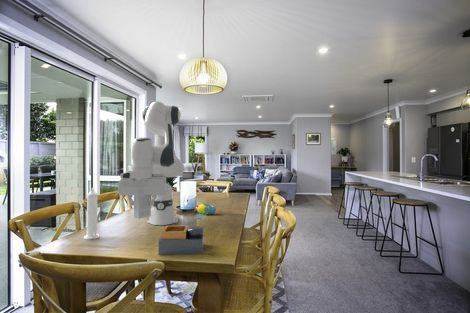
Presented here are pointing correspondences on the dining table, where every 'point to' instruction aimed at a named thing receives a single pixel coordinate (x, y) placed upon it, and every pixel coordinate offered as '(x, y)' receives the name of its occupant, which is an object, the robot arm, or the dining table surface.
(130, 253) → the dining table surface
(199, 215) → the blue and yellow piece
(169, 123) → the robot arm
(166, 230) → the grey and orange organizer
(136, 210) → the skincare box
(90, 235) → the candle
